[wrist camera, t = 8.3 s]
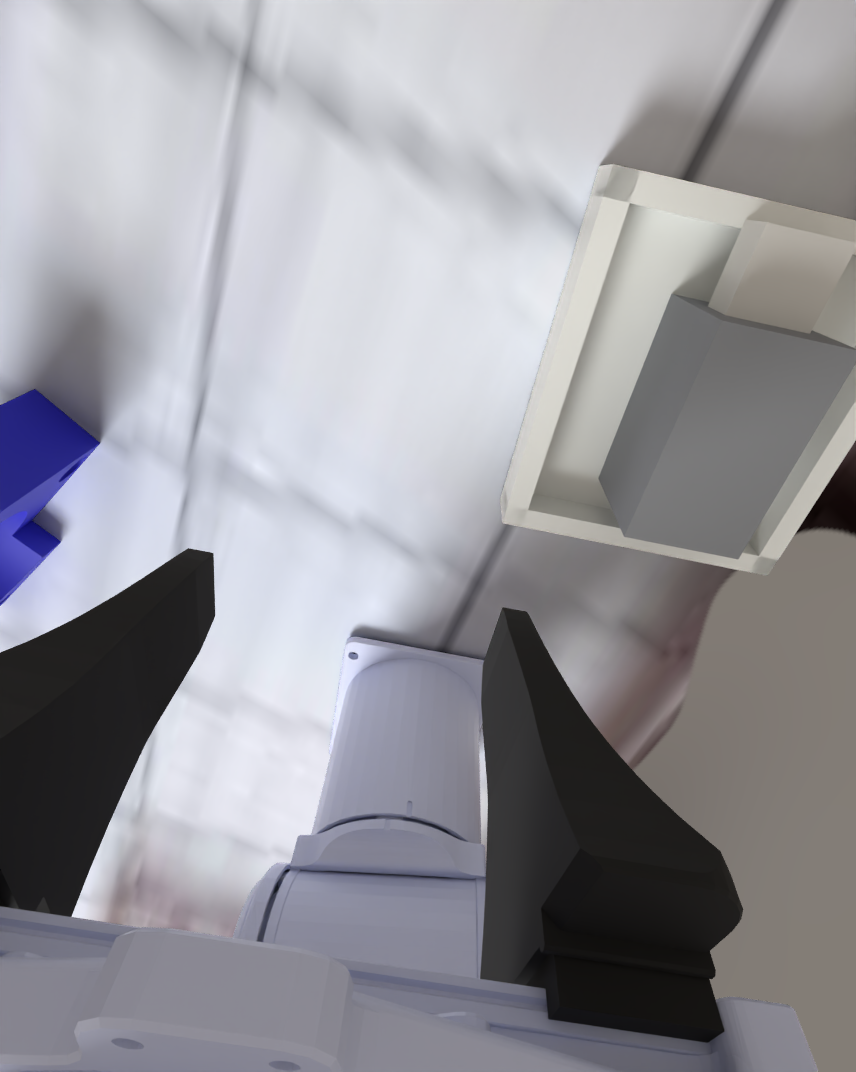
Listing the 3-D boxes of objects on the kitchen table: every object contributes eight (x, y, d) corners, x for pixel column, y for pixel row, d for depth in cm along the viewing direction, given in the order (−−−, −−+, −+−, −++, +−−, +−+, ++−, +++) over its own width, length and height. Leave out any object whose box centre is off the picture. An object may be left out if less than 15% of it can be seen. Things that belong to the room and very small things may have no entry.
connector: (693, 497, 23) (738, 559, 19) (598, 478, 22) (623, 536, 19) (825, 240, 18) (921, 254, 14) (703, 212, 17) (767, 219, 14)
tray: (746, 548, 24) (767, 575, 23) (499, 499, 24) (502, 523, 22) (931, 243, 18) (979, 248, 16) (599, 165, 17) (613, 163, 16)
